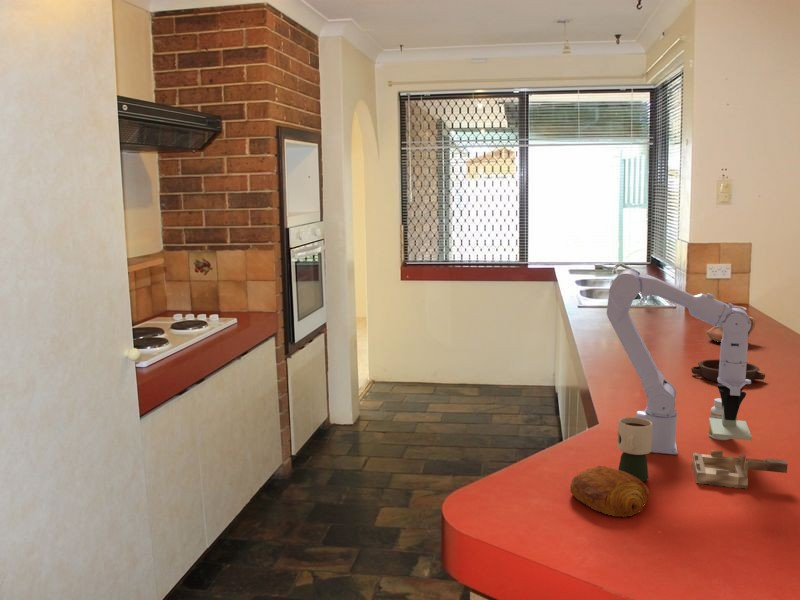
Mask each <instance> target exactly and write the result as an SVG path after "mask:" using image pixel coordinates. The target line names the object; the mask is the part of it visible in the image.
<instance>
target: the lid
mask: <svg viewBox="0 0 800 600" xmlns="http://www.w3.org/2000/svg"><path fill="white" fill-rule="evenodd" d="M737 418H738V416H737V417H736V419H735V420H725V416H724V407H723V409H722V419H716V418H710V417H709V418H708V423H709V426H710V427H711V431H712V435H713V437H720V438H731V439H732V440H733V439H734V440H743V441H752V440H753V436H752V434H751V432H750V429H749V426H748V423H747V421H746V420H741V419H740V420H739V419H738V420H737ZM731 439H730V440H731Z"/></svg>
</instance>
